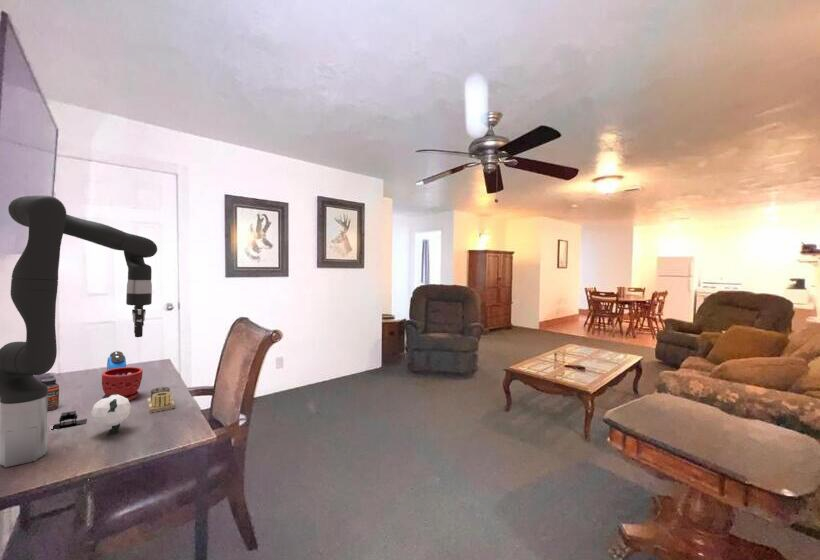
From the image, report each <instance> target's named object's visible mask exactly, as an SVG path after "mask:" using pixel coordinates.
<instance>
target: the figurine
mask: <svg viewBox="0 0 820 560" xmlns="http://www.w3.org/2000/svg"><path fill="white" fill-rule="evenodd" d="M103 396H104V395H103ZM103 396H102V398H101V399H99V400H98V401H97V402H95V403H94V405H93V408H91V409H92V410H91V412H90V416H91V419H92V422H93V424H95V425H98V426H100V427H102V428H109V427H111V428H110V429H108V431H107V437H109V436H112V435H116V433H117V434H119V430H118V429H120V426H121V423H122V422H124V421H125V420H126V419H127V418H128V417H129V414H130V412H131V410H132V406H131V403H130V400H128V399H127V398H125V397H123V396H120V395H118V394H117V393H115V394H112V395H109V394H107V396H104V397H103ZM111 431H112V432H111Z"/></svg>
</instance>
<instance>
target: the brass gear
mask: <svg viewBox="0 0 820 560" xmlns="http://www.w3.org/2000/svg"><path fill="white" fill-rule="evenodd" d="M160 395H161V396H160ZM171 396H172V392H171V391H170V392H159V393H155V394H153V395H152V407H164V406H167V405H170V404H171Z"/></svg>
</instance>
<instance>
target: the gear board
mask: <svg viewBox="0 0 820 560" xmlns="http://www.w3.org/2000/svg"><path fill="white" fill-rule="evenodd" d="M170 389H171V388H170V387H169V386H160V387H155V388H152V389H151V390H150V397H148V398H147V399H146V400H147V401H148V402H147V401H146V402H147V407H148V411H149V412H150V413H149V414H153V413H152V412H154V413H158V412H157V411H160V412H163V411H162V410H165V411H168V410H167V409H171V410H173V409H172V408H175V409H176V405H175V402H174V399H173V396H172V395H171V404H170V405H167V406H164V407H152V395H153V394H155V393H159V392H171V390H170ZM160 396H161V395H160Z"/></svg>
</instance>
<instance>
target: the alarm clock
mask: <svg viewBox="0 0 820 560" xmlns="http://www.w3.org/2000/svg"><path fill="white" fill-rule="evenodd" d="M106 362H107V363H106V371H107V370H110V369H114V368H122V367H127V360H126V356H125V355H124V353H123V352H122V351H120V350H115V351H113V352H111V353H110V354H109V357H107V361H106ZM116 375H119V374H116ZM122 375H125V373H123V374H122Z"/></svg>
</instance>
